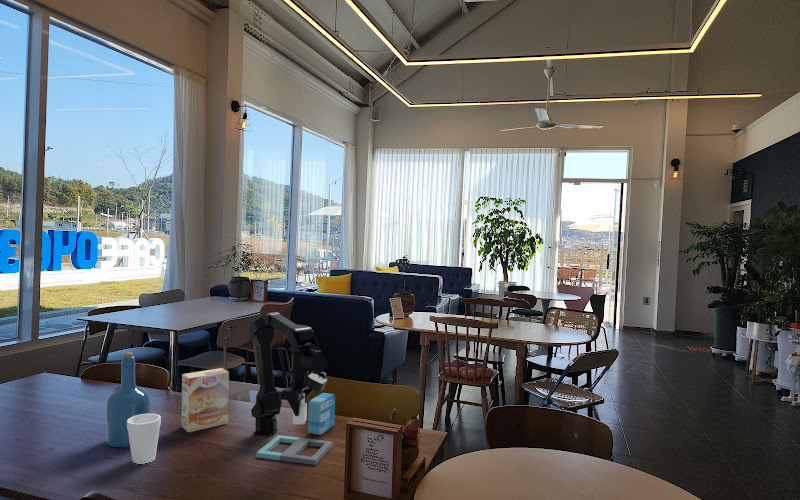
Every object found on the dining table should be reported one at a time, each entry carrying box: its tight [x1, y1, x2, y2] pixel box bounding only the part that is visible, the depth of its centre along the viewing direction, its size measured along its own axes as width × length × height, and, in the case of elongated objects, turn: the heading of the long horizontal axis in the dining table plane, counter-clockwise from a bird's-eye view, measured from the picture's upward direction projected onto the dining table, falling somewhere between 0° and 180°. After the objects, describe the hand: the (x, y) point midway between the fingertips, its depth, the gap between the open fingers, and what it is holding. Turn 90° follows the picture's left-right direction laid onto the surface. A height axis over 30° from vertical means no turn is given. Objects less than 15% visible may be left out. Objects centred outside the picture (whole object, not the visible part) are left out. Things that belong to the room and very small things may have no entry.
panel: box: [255, 434, 334, 466], centre depth 176 cm, size 20×15×2 cm
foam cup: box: [127, 413, 162, 465], centre depth 167 cm, size 10×9×13 cm
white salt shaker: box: [292, 393, 308, 425], centre depth 175 cm, size 4×4×10 cm
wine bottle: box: [105, 351, 151, 449], centre depth 181 cm, size 14×13×30 cm
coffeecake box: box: [181, 367, 230, 433], centre depth 197 cm, size 15×7×20 cm, turn 131°
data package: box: [307, 392, 336, 436], centre depth 195 cm, size 12×4×12 cm, turn 160°
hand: (299, 413), depth 175 cm, fingers closed on white salt shaker, 4 cm apart
